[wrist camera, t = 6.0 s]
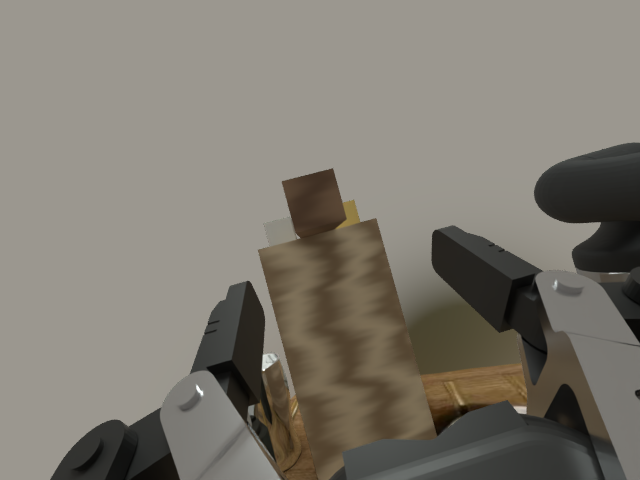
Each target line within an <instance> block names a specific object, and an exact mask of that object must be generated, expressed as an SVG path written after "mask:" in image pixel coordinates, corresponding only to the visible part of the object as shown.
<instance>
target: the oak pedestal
mask: <svg viewBox="0 0 640 480" xmlns="http://www.w3.org/2000/svg"><path fill="white" fill-rule="evenodd" d="M258 252H259V256H260V260H261V263H262V267H263V271H264V275H265V279H266V283H267V286H268V290H269V294H270V298H271V301H272V305H273V309H274V313H275V317H276V321H277V324H278V328H279V332H280V336H281V340H282V343H283V347H284V351H285V355H286V359H287V363H288V366H289V370H290V374H291V378H292V381H293V385H294V389H295V393H296V397H297V401H298V404H299V408H300V412H301V416H302V420H303V423H304V427H305V431H306V435H307V439H308V442H309V446H310V450H311V454H312V458H313V462H314V465H315V469H316V473H317V477H318V480H329V479H330V478H331V477H332V476H333V475H334V474H335V473H336V472H337V471H338V470H339V469H340V468H342V467H343V466H344V461H343V456H342V452H343V451H346V450H350V449H353V448H356V447H359V446H362V445H366V444H369V443H372V442H375V441H378V440H382V439H407V440H432V439H435V438H436V437H437V434H436V431H435V427H434V424H433V420H432V416H431V413H430V409H429V406H428V402H427V399H426V395H425V391H424V388H423V384H422V381H421V377H420V373H419V370H418V366H417V363H416V359H415V356H414V352H413V348H412V345H411V341H410V338H409V334H408V331H407V327H406V324H405V320H404V316H403V313H402V309H401V305H400V302H399V298H398V295H397V291H396V287H395V284H394V280H393V277H392V273H391V269H390V266H389V263H388V259H387V256H386V252H385V248H384V245H383V241H382V237H381V234H380V230H379V227H378V223H377V219H376V218H375V219H371V220H368V221H364V222H360V223H356V224H353V225H349V226H345V227H342V228H338V229H334V230H330V231H327V232H323V233H319V234H315V235H312V236H308V237H304V238H300V239H297V240H293V241H289V242H286V243H282V244H278V245H274V246H271V247H267V248H263V249H259V250H258Z"/></svg>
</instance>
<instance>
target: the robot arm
mask: <svg viewBox="0 0 640 480" xmlns="http://www.w3.org/2000/svg"><path fill="white" fill-rule="evenodd" d="M534 196H535V201H536V203H537V204H538V206H539V208H540V209H541V210H542V211H543V212H545V213H546V214H547V215H549V216H550V217H552V218H554V219H557V220H559V221H563V222H567V223H589V222H590V223H591V222H601V225H600V227H599V229H598V230H597V231H596V232H595V233H594V234H593V235H592V236H591V237H590V238H589V239H588V240H586V241H584V242H582V243H581V244H579V245H578V246H576V247H575V248H574V249H573V251H572V258H573V262H574V265H575V268H576V271H577V274H576V273H573V272H568V271H561V270H549V271H542V270H540V269H539V268H537V267H535V266H533V265H531V264H530V263H528V262H526V261H524V260H522V259H521V258H519V257H517V256H515V255H514V254H512V253H510V252H508V251H505V250H504V249H502V248H501V247H499V246H498V245H495V244H494V243H492V242H490V241H489V240H487V239H485V238H483V237H480V236H477V235H473V234H470V233H466V232H464V231H463V230H461V229H459V228H458V227H456V226H449V227H445V228H441V229H438V230H435V231H434V232H433V234H432V265H433V268H434V270H435V271H436V273H437V274H438V275H439V276H440V277H441V278H443V280H444V281H445V282H446V283H448V284H449V285H450V286H451V287H452V288H453V289H454V290H455V291H456V292H457V293H458V294H459V295H460V296H461V297H462V298H463V299H464V300H465V301H466V302H468V303H469V304H470V305H471V306H472V307H473V308H474V309H475V310H476V311H477V312H478V313H479V314H480V315H481V316H482V317H483V318H484V319H485V320H486V321H488V322H489V323H490V324H491V325H492V326H493V327H494V328H495V329H496V330H497V331H498V332H499V333H500V332H504V331H507V330H510V329H515V330H516V331H517V332H518V336H517V343H518V348H519V353H520V358H521V363H522V368H523V373H524V378H525V383H526V388H527V414H518V413H517V411H516V410H515V409H514V408H513V406H512V405H511V404H510V403H509V402H508V400H506V401H503V402H500V403H497V404H493V405H490V406H487V407H484V408H481V409H477V410H474V411H471V412H468V413H466V414H465V415H464V416H463V417H461V418H460V419H459V420H458V421H456V422H455V423H454V424H453V425H451V426H450V427H449V428H448V429H446V430H445V431H444V432H443V433H441V434H440V435H439V436H438V437H436V438H435V439H432V440H407V439H382V440H378V441H375V442H372V443H369V444H366V445H362V446H359V447H356V448H353V449H350V450H346V451H343V452H342V456H343V461H344V466H343V467H342V468H340V469H339V470H338V471H337V472H336V473H335V474H334V475H333V476H332V477H331V478H330V479H329V480H640V143H627V144H621V145H617V146H613V147H610V148H606V149H602V150H600V151H596V152H592V153H589V154H585V155H582V156H578V157H575V158H571V159H568V160H565V161H562V162H560V163H558V164H556V165H554V166H552V167H551V168H549V169H548V170H547V171H545V172H544V173H543V174H542V176H541V177H540V178H539V180H538V181H537V183H536V186H535V190H534ZM264 330H265V316H264V311H263V308H262V306H261V304H260V301H259V299H258V297H257V295H256V292H255V290H254V288H253V286H252V284H251V283H250V281H246V282H242V283H239V284H235V285H232V286H230V287H229V290H228V293H227V297H226V300H223V301H220V302H219V303H218V304H217V306H216V307H215V308H214V310H213V311H212V312H211V315H210V318H209V321H208V326H207V327H206V329H205V332H204V334H205V335H204V336H203V338H202V341H201V344H200V347H199V349H198V352H197V355H196V358H195V361H194V364H193V366H192V370H191V373H190V375H188V376H186V377H185V378H183V379H182V380H181V381H180V382H178V383H177V384H176V385H175V386H174V387H173V388H172V390H171V391H170V392H169V394H168V395H167V397H166V398H165V400H164V402H163V404H162V407H161V408H159V409H157V410H156V411H154V412H153V413H151V414H149V415H147V416H146V417H144V418H143V419H141V420H139V421H137V422H136V423H134V424H133V425H131V426H129V427H128V426H127V425H125V424H124V423H123V422H121V421H120V420H110V421H107V422H105V423H102V424H100V425H99V426H97V427H95V428H94V429H92V430H91V431H90V432H88V433H87V434H86V435H85V436H84V437H83V438H81V439H80V440H79V441H78V442H77V443H76V444H75V445H74V446H73V447H72V448H71V450H70V451H69V452H68V453H67V454H66V456H65V457H64V458H63V460H62V461H61V463H60V464H59V466H58V468H57V469H56V471H55V473H54V474H53V476H52V478H51V479H50V480H288V479H287V477H286V476H285V475H284V473H283V472H282V470H281V469H280V467H279V466H278V465H277V463H276V462H275V460H274V459H273V457H272V456H271V454H270V453H269V451H268V450H267V448H266V447H265V445H264V444H263V443H262V441H261V440H260V438H259V437H258V435H257V434H256V432H255V431H254V429H253V428H252V426H251V425H250V424H249V422H248V421H247V417H248V407H249V406H252V405H255V404H258V403H260V392H261V377H262V361H263V344H264Z"/></svg>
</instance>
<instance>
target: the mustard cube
mask: <svg viewBox="0 0 640 480" xmlns="http://www.w3.org/2000/svg"><path fill="white" fill-rule="evenodd" d="M343 207H344V210H345V214H346V218H347V219H346V220H345V221H344V222H343V223H342V224H340V225H339V226H338V227H337V228H336V229H338V228H342V227H345V226H349V225H353V224H356V223H360V219H359V216H358V212H357V209H356V205H355V201H354V200H352V201H348V202H344V203H343Z"/></svg>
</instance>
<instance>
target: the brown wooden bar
mask: <svg viewBox="0 0 640 480" xmlns="http://www.w3.org/2000/svg"><path fill="white" fill-rule="evenodd" d="M282 184H283V187H284V192H285V195H286V199H287V203H288V207H289V211H290V214H291V218H292V222H293V225H294V229H295V233H296V234H297V235H298V236H299V237H300V238H304V237H308V236H312V235H315V234H319V233H323V232H327V231H330V230H334V229H336V228H337V227H338V226H339V225H340V224H342V223H343V222H344V221H345V220H346V219H347V218H346V214H345V210H344V207H343V203H342V199H341V196H340V192H339V188H338V185H337V181H336V178H335V174H334V170H333V169H329V170H325V171H321V172H317V173H313V174H309V175H305V176H301V177H298V178H293V179H289V180H286V181H282Z"/></svg>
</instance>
